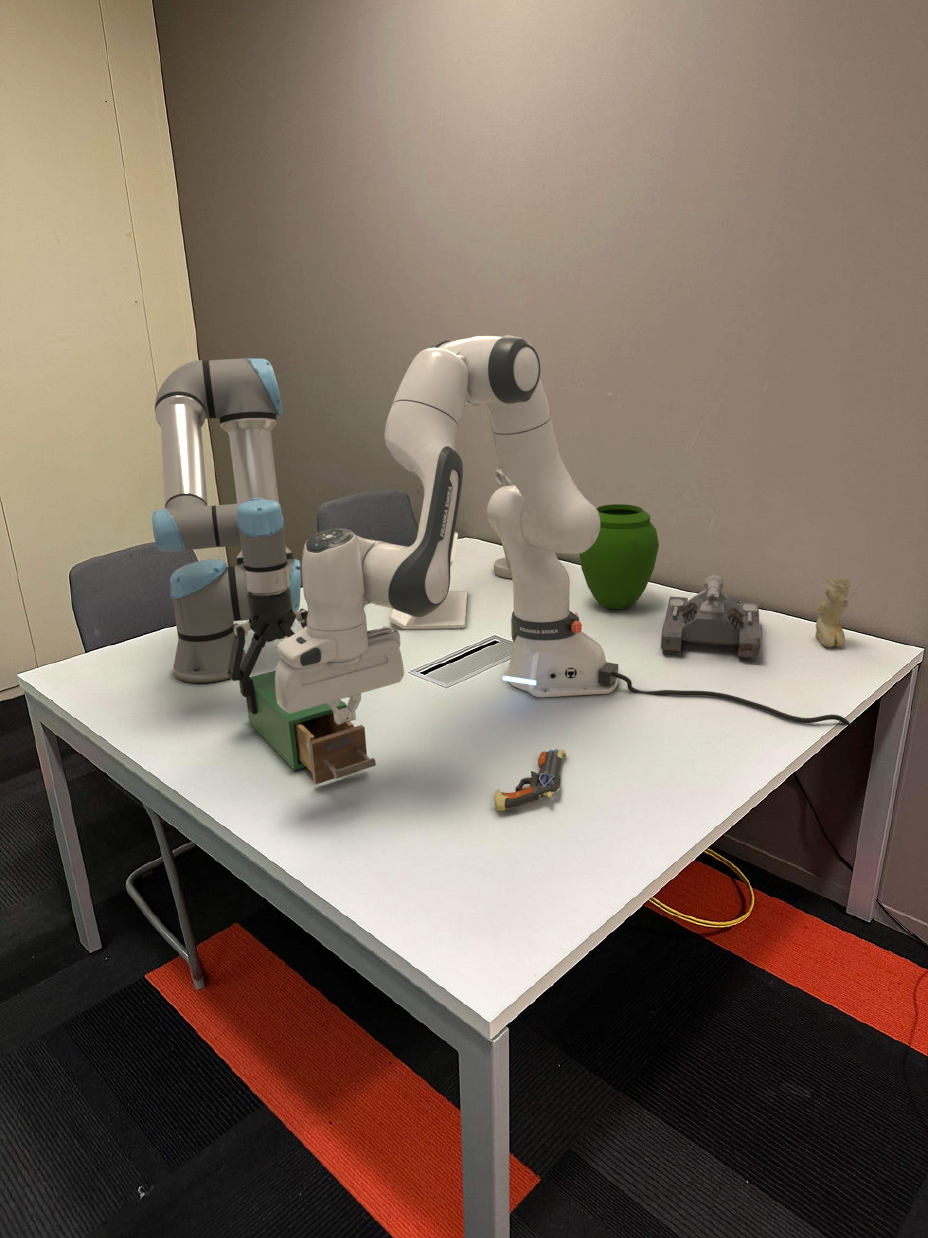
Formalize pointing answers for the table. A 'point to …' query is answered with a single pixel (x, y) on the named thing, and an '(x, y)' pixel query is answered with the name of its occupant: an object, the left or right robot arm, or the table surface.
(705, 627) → the toy
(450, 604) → the tablet stand
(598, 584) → the vase
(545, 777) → the toy gun
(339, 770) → the drawer
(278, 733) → the cabinet
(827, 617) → the sculpture
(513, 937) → the table surface
